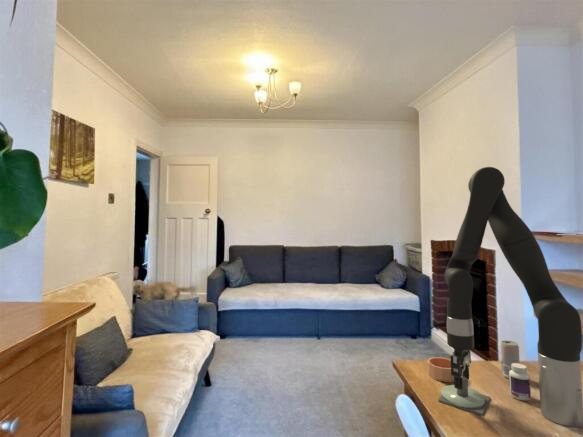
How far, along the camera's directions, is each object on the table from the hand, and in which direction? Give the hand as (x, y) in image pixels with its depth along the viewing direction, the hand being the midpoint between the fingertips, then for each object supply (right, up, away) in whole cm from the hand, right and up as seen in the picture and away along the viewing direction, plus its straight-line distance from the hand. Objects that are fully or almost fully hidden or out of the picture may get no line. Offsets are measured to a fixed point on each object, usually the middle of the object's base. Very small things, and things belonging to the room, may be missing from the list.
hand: (462, 383), depth 99 cm
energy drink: (+25, -5, +14) cm, 29 cm away
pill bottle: (+19, -5, +1) cm, 19 cm away
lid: (0, -4, 0) cm, 4 cm away
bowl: (+2, -5, +16) cm, 17 cm away
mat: (0, -5, -1) cm, 5 cm away
